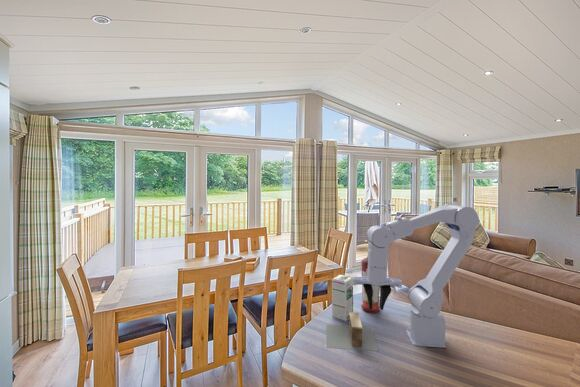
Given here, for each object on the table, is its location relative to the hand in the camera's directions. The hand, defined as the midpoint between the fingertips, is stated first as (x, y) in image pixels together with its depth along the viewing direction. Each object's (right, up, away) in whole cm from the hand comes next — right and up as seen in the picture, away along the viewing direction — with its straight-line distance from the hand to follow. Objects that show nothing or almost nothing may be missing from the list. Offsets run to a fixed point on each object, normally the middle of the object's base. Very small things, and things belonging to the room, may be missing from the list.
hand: (375, 308), depth 89 cm
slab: (-6, -10, +1) cm, 12 cm away
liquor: (+4, -9, +20) cm, 23 cm away
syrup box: (-7, -10, +16) cm, 20 cm away
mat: (-8, -10, +2) cm, 13 cm away
